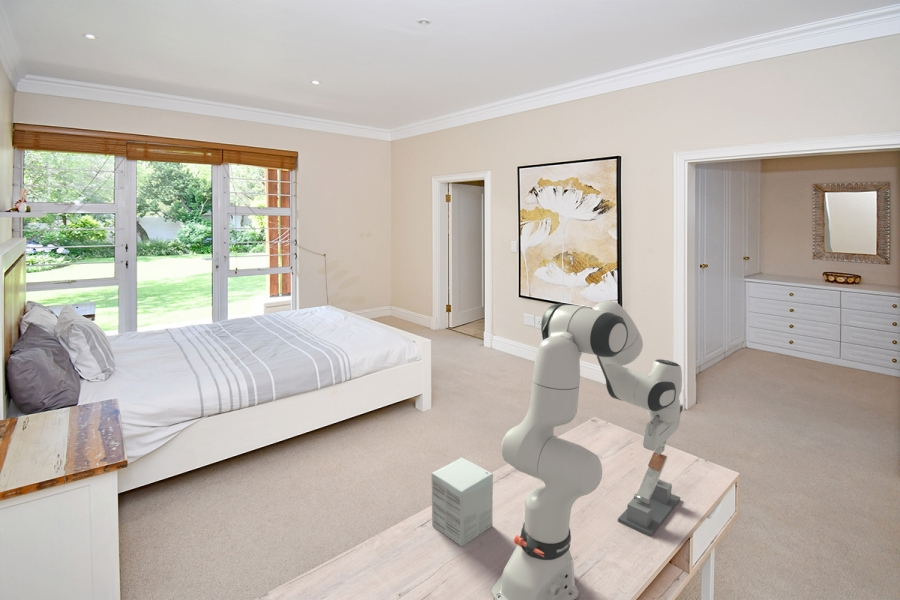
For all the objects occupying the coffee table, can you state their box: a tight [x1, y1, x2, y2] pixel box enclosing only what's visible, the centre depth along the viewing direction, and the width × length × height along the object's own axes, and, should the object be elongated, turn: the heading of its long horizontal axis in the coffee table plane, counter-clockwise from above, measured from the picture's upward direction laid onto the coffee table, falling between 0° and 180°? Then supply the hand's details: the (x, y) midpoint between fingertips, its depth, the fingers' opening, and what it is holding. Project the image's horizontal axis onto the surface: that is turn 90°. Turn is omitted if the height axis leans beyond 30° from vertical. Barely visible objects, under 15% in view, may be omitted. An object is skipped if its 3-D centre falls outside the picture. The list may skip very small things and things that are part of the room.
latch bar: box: [633, 451, 668, 505], centre depth 145 cm, size 17×4×2 cm
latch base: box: [617, 478, 681, 537], centre depth 147 cm, size 24×10×9 cm, turn 136°
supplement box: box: [431, 457, 494, 547], centre depth 140 cm, size 13×13×18 cm
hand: (659, 452), depth 147 cm, fingers closed
